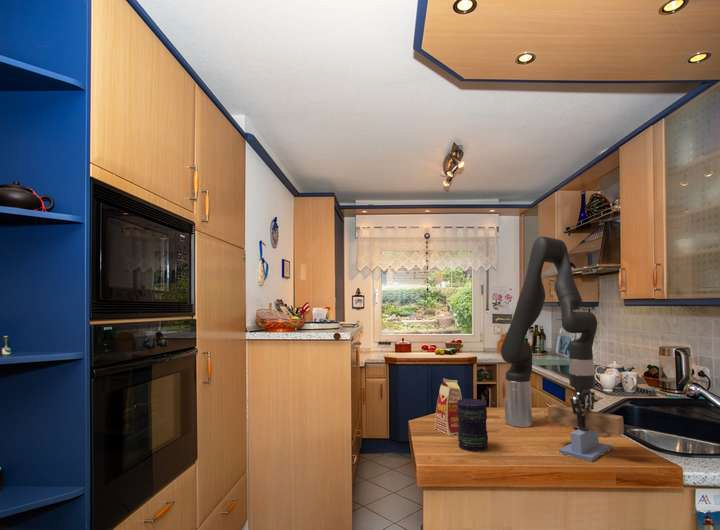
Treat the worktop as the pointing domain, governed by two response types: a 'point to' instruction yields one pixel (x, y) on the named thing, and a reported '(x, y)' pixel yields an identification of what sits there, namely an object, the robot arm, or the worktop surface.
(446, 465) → the worktop surface
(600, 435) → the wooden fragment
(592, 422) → the beam
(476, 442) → the storage jar
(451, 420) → the milk carton
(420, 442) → the worktop surface
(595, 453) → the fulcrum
